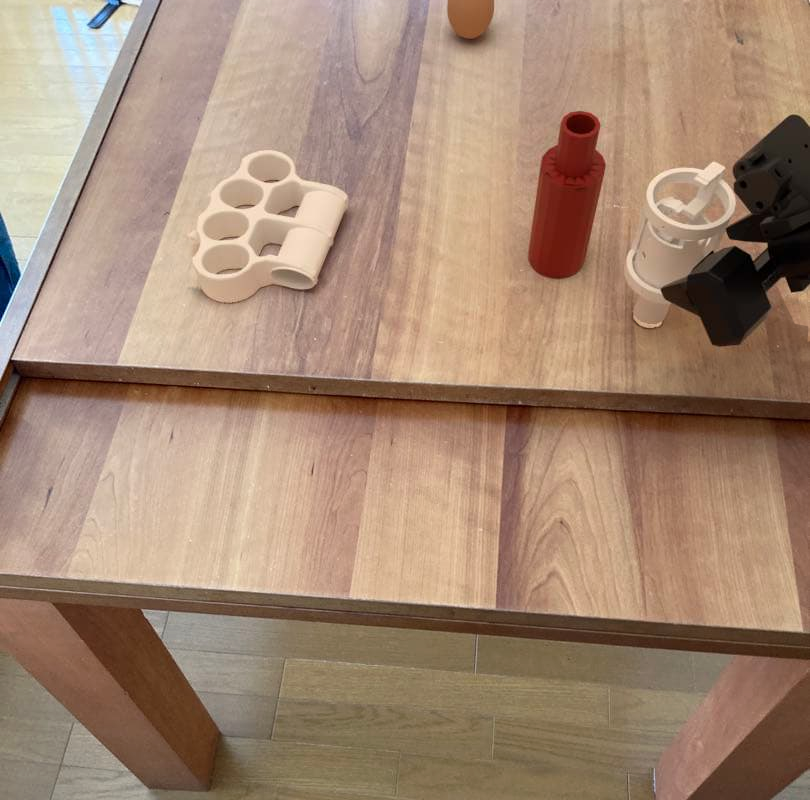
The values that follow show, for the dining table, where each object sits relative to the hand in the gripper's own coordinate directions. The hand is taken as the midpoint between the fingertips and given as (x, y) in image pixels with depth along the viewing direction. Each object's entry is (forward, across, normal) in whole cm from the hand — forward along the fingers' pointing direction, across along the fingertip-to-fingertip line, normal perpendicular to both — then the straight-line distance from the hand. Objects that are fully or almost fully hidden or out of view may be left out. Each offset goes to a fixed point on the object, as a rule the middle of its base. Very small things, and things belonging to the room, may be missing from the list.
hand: (696, 262), depth 69 cm
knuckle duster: (+32, +18, -20) cm, 42 cm away
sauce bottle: (+16, 0, -4) cm, 16 cm away
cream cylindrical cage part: (+8, 0, +4) cm, 9 cm away
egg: (+37, -20, -25) cm, 49 cm away
